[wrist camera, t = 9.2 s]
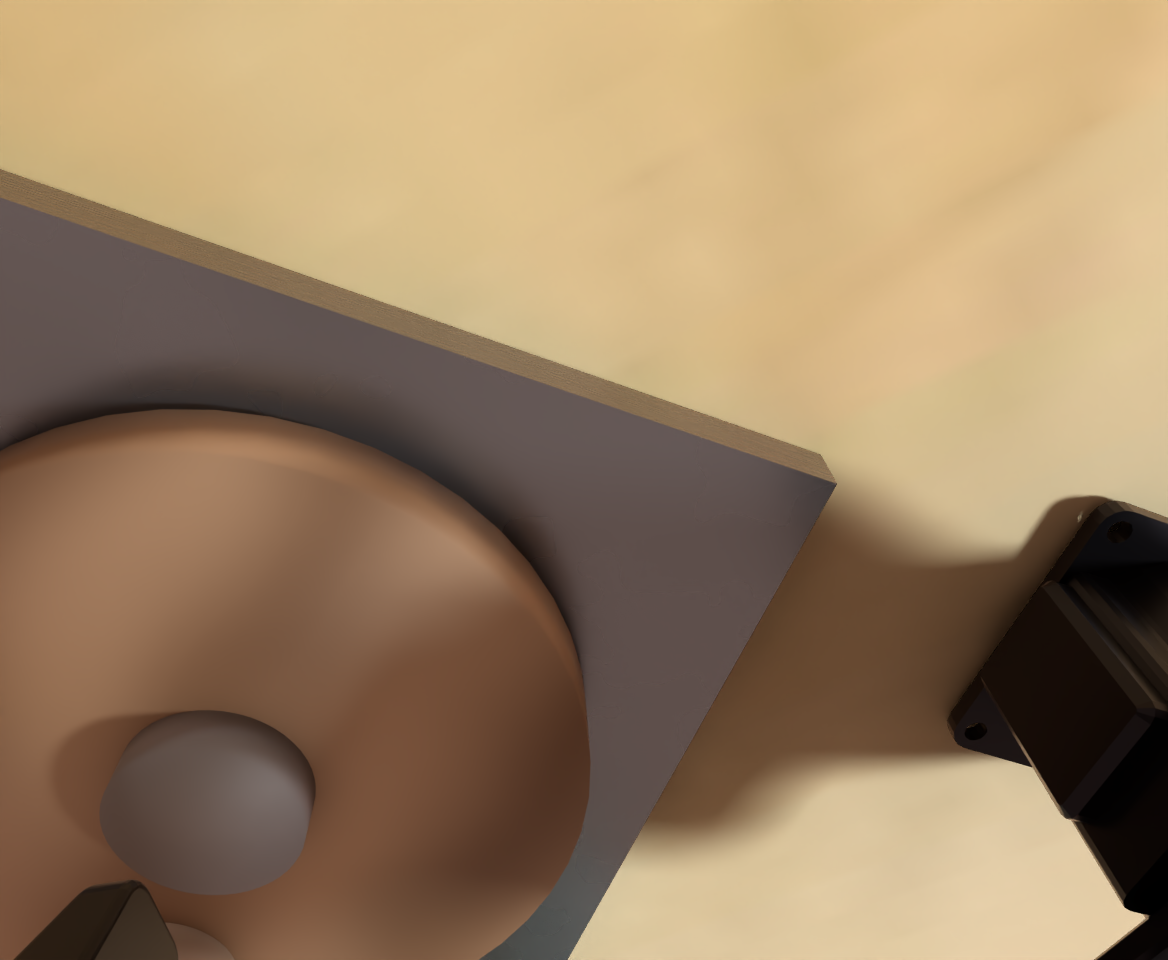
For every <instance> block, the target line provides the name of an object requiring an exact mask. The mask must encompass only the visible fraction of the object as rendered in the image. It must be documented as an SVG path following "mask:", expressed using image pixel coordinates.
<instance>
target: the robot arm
mask: <svg viewBox="0 0 1168 960" xmlns="http://www.w3.org/2000/svg"><path fill="white" fill-rule="evenodd" d="M1120 521H1122V523H1121V526H1120V527H1119V528H1118V529H1116V530H1115V531H1113V532H1110V533H1108V530H1109V528H1110V527H1111V526H1112V525H1114V524H1115V523H1118V522H1120ZM947 722H948V728H949V730H950V732H951V734H952V736H953V738H954V740H955V741H956V742H957V744H958V745H960V746H962V747H964V748H967V749H971V750H974V751H977V752H981V753H984V754H988V755H991V756H995V757H998V758H1002V759H1005V760H1009V761H1012V762H1016V763H1019V764H1022V765H1026V766H1029V767H1033V769H1034V770H1035V772H1036V774H1037V775H1038V777H1039V779H1040V780H1041V782H1042V784H1043V785H1044V787H1045V789H1046V790H1047V792H1048V794H1049V795H1050V797H1051V799H1052V800H1053V802H1054V804H1055V805H1056V807H1057V809H1058V810H1059V812H1060V813H1061V815H1063V816H1064V817H1065V818H1066V819H1070V820H1071V821H1072V822H1073V824H1074V825H1075V827H1076V829H1077V830H1078V832H1079V834H1080V835H1081V837H1082V839H1083V840H1084V842H1085V844H1086V845H1087V847H1088V848H1089V850H1090V852H1091V853H1092V855H1093V857H1094V858H1095V860H1096V862H1097V863H1098V865H1099V866H1100V868H1101V870H1102V871H1103V873H1104V875H1105V876H1106V878H1107V880H1108V881H1109V883H1110V885H1111V886H1112V888H1113V889H1114V891H1115V893H1116V894H1117V896H1118V898H1119V899H1120V901H1121V903H1122V904H1123V906H1124V907H1125V908H1126V909H1128V910H1130V911H1133V912H1137V913H1141V914H1143V915H1144V917H1145V918H1146V919H1145V920H1144V921H1142V922H1141V923H1140V924H1139V925H1137V926H1136V927H1135V928H1134V929H1132V930H1131V931H1130V932H1128V933H1127V934H1126V935H1125V936H1123V937H1122V938H1121V939H1120V940H1118V941H1117V942H1116V943H1115V944H1113V945H1112V946H1111V947H1109V948H1108V949H1107V950H1106V951H1104V952H1103V953H1102V954H1101V955H1099V956H1098V957H1097V958H1096V959H1094V960H1168V518H1167V517H1164V516H1161V515H1159V514H1156V513H1153V512H1150V511H1148V510H1145V509H1142V508H1139V507H1137V506H1134V505H1131V504H1128V503H1126V502H1120V501H1112V502H1107V503H1105V504H1103V505H1101V506H1099V507H1097V508H1096V509H1095V510H1094V511H1093V512H1092V513H1091V514H1090V515H1089V517H1088V518H1087V520H1086V521H1085V522H1084V524H1083V525H1082V527H1081V528H1080V530H1079V531H1078V532H1077V534H1076V535H1075V537H1074V538H1073V540H1072V541H1071V542H1070V544H1069V545H1068V547H1067V548H1066V550H1065V551H1064V552H1063V554H1062V555H1061V557H1060V558H1059V560H1058V561H1057V562H1056V564H1055V565H1054V567H1053V568H1052V570H1051V571H1050V572H1049V574H1048V575H1047V577H1046V578H1045V580H1044V581H1043V582H1042V584H1041V585H1040V587H1039V588H1038V590H1037V591H1036V592H1035V594H1034V595H1033V597H1032V598H1031V599H1030V601H1029V602H1028V604H1027V605H1026V607H1025V608H1024V609H1023V611H1022V612H1021V614H1020V615H1019V617H1018V618H1017V619H1016V621H1015V622H1014V624H1013V625H1012V627H1011V628H1010V629H1009V631H1008V632H1007V634H1006V635H1005V637H1004V638H1003V639H1002V641H1001V642H1000V644H999V645H998V647H997V648H996V649H995V651H994V652H993V654H992V655H991V657H990V658H989V659H988V661H987V662H986V664H985V665H984V667H983V668H982V669H981V671H980V672H979V674H978V675H977V677H976V678H975V679H974V681H973V682H972V684H971V685H970V686H969V688H968V689H967V691H966V692H965V694H964V695H963V696H962V698H961V699H960V701H959V702H958V704H957V705H956V706H955V708H954V709H953V711H952V712H951V714H950V716H949V718H948V720H947ZM974 723H978V724H976V725H975V726H974V727H971V728H967V727H968V726H970V725H971V724H974ZM13 960H178V952H177V948H176V944H175V942H174V939H173V937H172V935H171V933H170V931H169V929H168V927H167V925H166V923H165V922H164V920H163V918H162V916H161V914H160V912H159V910H158V908H157V906H156V904H155V902H154V900H153V898H152V896H151V894H150V892H149V890H148V889H147V887H146V886H145V885H144V884H143V883H142V882H140V881H138V880H133V879H130V880H123V881H116V882H109V883H103V884H96V885H92V886H90V887H87V888H86V889H84V890H83V891H82V892H80V893H79V894H78V895H77V896H76V897H75V898H74V899H73V900H72V901H71V902H70V903H69V904H68V905H67V906H66V907H65V908H64V909H63V910H62V911H61V912H60V913H59V914H58V915H57V916H56V917H55V918H54V919H53V920H52V921H51V922H50V923H49V924H48V925H47V926H46V927H45V928H44V929H43V930H42V931H41V932H40V933H39V934H38V935H37V936H36V937H35V938H34V939H33V940H32V941H31V942H30V943H29V944H28V945H27V946H26V947H25V948H24V949H23V950H22V951H21V952H20V953H19V954H18V955H17V956H16V957H15V958H14V959H13Z"/></svg>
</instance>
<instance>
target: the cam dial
mask: <svg viewBox="0 0 1168 960" xmlns="http://www.w3.org/2000/svg"><path fill="white" fill-rule="evenodd" d="M590 765H591V760H590V747H589V735H588V722H587V709H586V700H585V692H584V684H583V677H582V670H581V666H580V663H579V660H578V656H577V653H576V650H575V646H574V643H573V640H572V636H571V633H570V631H569V629H568V627H567V625H566V623H565V621H564V619H563V617H562V615H561V613H560V610H559V608H558V606H557V604H556V602H555V600H554V598H553V597H552V595H551V594H550V592H549V591H548V589H547V588H546V586H545V585H544V583H543V582H542V580H541V579H540V577H539V576H538V574H537V573H536V571H535V570H534V569H533V567H532V566H531V564H530V563H529V562H528V561H527V559H526V558H525V557H524V556H523V555H522V554H521V553H520V552H519V551H518V549H517V548H516V547H515V546H514V545H513V544H512V543H511V542H510V541H509V540H508V538H507V537H506V536H505V535H504V534H503V533H502V532H501V531H500V530H499V529H498V528H497V527H496V526H495V525H493V524H492V523H491V522H490V521H489V520H488V519H486V518H485V517H484V516H483V515H482V514H481V513H479V512H478V511H477V510H476V509H475V508H474V507H472V506H471V505H470V504H469V503H468V502H467V501H465V500H464V499H463V498H461V497H460V496H458V495H457V494H455V493H454V492H452V491H451V490H449V489H448V488H446V487H445V486H443V485H442V484H440V483H439V482H437V481H435V480H434V479H432V478H431V477H429V476H428V475H426V474H425V473H423V472H422V471H420V470H418V469H416V468H414V467H412V466H410V465H408V464H406V463H404V462H402V461H400V460H398V459H396V458H394V457H392V456H390V455H388V454H386V453H384V452H382V451H380V450H378V449H376V448H373V447H371V446H368V445H365V444H362V443H360V442H357V441H354V440H352V439H349V438H346V437H343V436H341V435H338V434H335V433H332V432H330V431H327V430H324V429H320V428H316V427H312V426H307V425H303V424H299V423H295V422H291V421H287V420H282V419H278V418H274V417H270V416H262V415H253V414H245V413H237V412H229V411H221V410H179V409H159V410H150V411H141V412H132V413H123V414H114V415H106V416H102V417H98V418H94V419H90V420H85V421H81V422H77V423H73V424H69V425H65V426H61V427H57V428H54V429H51V430H49V431H46V432H43V433H41V434H38V435H36V436H33V437H31V438H28V439H26V440H23V441H20V442H18V443H15V444H13V445H10V446H8V447H6V448H5V449H3V450H1V451H0V960H13V959H14V958H15V957H16V956H17V955H18V954H19V953H20V952H21V951H22V950H23V949H24V948H25V947H26V946H27V945H28V944H29V943H30V942H31V941H32V940H33V939H34V938H35V937H36V936H37V935H38V934H39V933H40V932H41V931H42V930H43V929H44V928H45V927H46V926H47V925H48V924H49V923H50V922H51V921H52V920H53V919H54V918H55V917H56V916H57V915H58V914H59V913H60V912H61V911H62V910H63V909H64V908H65V907H66V906H67V905H68V904H69V903H70V902H71V901H72V900H73V899H74V898H75V897H76V896H77V895H78V894H79V893H80V892H82V891H83V890H84V889H86V888H87V887H90V886H92V885H96V884H103V883H109V882H116V881H123V880H130V879H133V880H138V881H140V882H142V883H143V884H144V885H145V886H146V887H147V889H148V890H149V892H150V894H151V896H152V898H153V900H154V902H155V904H156V906H157V908H158V910H159V912H160V914H161V916H162V918H163V920H164V922H165V923H166V925H167V927H168V929H169V931H170V933H171V935H172V937H173V939H174V942H175V944H176V948H177V952H178V960H479V959H480V958H482V957H483V956H484V955H486V954H487V953H489V952H490V951H492V950H493V949H494V948H496V947H497V946H499V945H500V944H502V943H503V942H504V941H505V940H506V939H507V938H508V937H509V936H510V935H511V934H513V933H514V932H515V931H516V930H517V929H518V928H519V927H520V926H521V925H523V924H524V923H525V922H526V921H527V920H528V919H529V918H530V917H531V915H532V914H533V913H534V912H535V911H536V909H537V908H538V907H539V906H540V905H541V903H542V902H543V901H544V900H545V899H546V897H547V896H548V895H549V894H550V893H551V891H552V889H553V888H554V886H555V884H556V883H557V881H558V880H559V878H560V876H561V875H562V873H563V871H564V870H565V868H566V866H567V865H568V863H569V861H570V858H571V856H572V853H573V851H574V848H575V846H576V844H577V841H578V839H579V836H580V834H581V831H582V827H583V822H584V818H585V813H586V809H587V804H588V800H589V787H590Z"/></svg>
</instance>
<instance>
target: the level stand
mask: <svg viewBox="0 0 1168 960" xmlns="http://www.w3.org/2000/svg"><path fill="white" fill-rule="evenodd" d="M159 409H179V410H221V411H229V412H237V413H245V414H253V415H262V416H270V417H274V418H278V419H282V420H287V421H291V422H295V423H299V424H303V425H307V426H312V427H316V428H320V429H324V430H327V431H330V432H332V433H335V434H338V435H341V436H343V437H346V438H349V439H352V440H354V441H357V442H360V443H362V444H365V445H368V446H371V447H373V448H376V449H378V450H380V451H382V452H384V453H386V454H388V455H390V456H392V457H394V458H396V459H398V460H400V461H402V462H404V463H406V464H408V465H410V466H412V467H414V468H416V469H418V470H420V471H422V472H423V473H425V474H426V475H428V476H429V477H431V478H432V479H434V480H435V481H437V482H439V483H440V484H442V485H443V486H445V487H446V488H448V489H449V490H451V491H452V492H454V493H455V494H457V495H458V496H460V497H461V498H463V499H464V500H465V501H467V502H468V503H469V504H470V505H471V506H472V507H474V508H475V509H476V510H477V511H478V512H479V513H481V514H482V515H483V516H484V517H485V518H486V519H488V520H489V521H490V522H491V523H492V524H493V525H495V526H496V527H497V528H498V529H499V530H500V531H501V532H502V533H503V534H504V535H505V536H506V537H507V538H508V540H509V541H510V542H511V543H512V544H513V545H514V546H515V547H516V548H517V549H518V551H519V552H520V553H521V554H522V555H523V556H524V557H525V558H526V559H527V561H528V562H529V563H530V564H531V566H532V567H533V569H534V570H535V571H536V573H537V574H538V576H539V577H540V579H541V580H542V582H543V583H544V585H545V586H546V588H547V589H548V591H549V592H550V594H551V595H552V597H553V598H554V600H555V602H556V604H557V606H558V608H559V610H560V613H561V615H562V617H563V619H564V621H565V623H566V625H567V627H568V629H569V631H570V633H571V636H572V640H573V643H574V646H575V650H576V653H577V656H578V660H579V663H580V666H581V670H582V677H583V684H584V692H585V700H586V709H587V722H588V735H589V747H590V760H591V765H590V787H589V800H588V804H587V809H586V813H585V818H584V822H583V827H582V831H581V834H580V836H579V839H578V841H577V844H576V846H575V848H574V851H573V853H572V856H571V858H570V861H569V863H568V865H567V866H566V868H565V870H564V871H563V873H562V875H561V876H560V878H559V880H558V881H557V883H556V884H555V886H554V888H553V889H552V891H551V893H550V894H549V895H548V896H547V897H546V899H545V900H544V901H543V902H542V903H541V905H540V906H539V907H538V908H537V909H536V911H535V912H534V913H533V914H532V915H531V917H530V918H529V919H528V920H527V921H526V922H525V923H524V924H523V925H521V926H520V927H519V928H518V929H517V930H516V931H515V932H514V933H513V934H511V935H510V936H509V937H508V938H507V939H506V940H505V941H504V942H503V943H502V944H500V945H499V946H497V947H496V948H494V949H493V950H492V951H490V952H489V953H487V954H486V955H484V956H483V957H482V958H480V959H479V960H568V958H569V956H570V954H571V953H572V951H573V949H574V947H575V946H576V944H577V942H578V940H579V938H580V937H581V935H582V933H583V931H584V930H585V928H586V926H587V924H588V923H589V921H590V919H591V917H592V916H593V914H594V912H595V910H596V908H597V907H598V905H599V903H600V901H601V900H602V898H603V896H604V894H605V893H606V891H607V889H608V887H609V886H610V884H611V882H612V880H613V878H614V877H615V875H616V873H617V871H618V870H619V868H620V866H621V864H622V863H623V861H624V859H625V857H626V856H627V854H628V852H629V850H630V848H631V847H632V845H633V843H634V841H635V840H636V838H637V836H638V834H639V833H640V831H641V829H642V827H643V826H644V824H645V822H646V820H647V818H648V817H649V815H650V813H651V811H652V810H653V808H654V806H655V804H656V803H657V801H658V799H659V797H660V796H661V794H662V792H663V790H664V788H665V787H666V785H667V783H668V781H669V780H670V778H671V776H672V774H673V773H674V771H675V769H676V767H677V766H678V764H679V762H680V760H681V758H682V757H683V755H684V753H685V751H686V750H687V748H688V746H689V744H690V743H691V741H692V739H693V737H694V736H695V734H696V732H697V730H698V728H699V727H700V725H701V723H702V721H703V720H704V718H705V716H706V714H707V713H708V711H709V709H710V707H711V706H712V704H713V702H714V700H715V698H716V697H717V695H718V693H719V691H720V690H721V688H722V686H723V684H724V683H725V681H726V679H727V677H728V675H729V674H730V672H731V670H732V668H733V667H734V665H735V663H736V661H737V660H738V658H739V656H740V654H741V653H742V651H743V649H744V647H745V645H746V644H747V642H748V640H749V638H750V637H751V635H752V633H753V631H754V630H755V628H756V626H757V624H758V623H759V621H760V619H761V617H762V615H763V614H764V612H765V610H766V608H767V607H768V605H769V603H770V601H771V600H772V598H773V596H774V594H775V593H776V591H777V589H778V587H779V585H780V584H781V582H782V580H783V578H784V577H785V575H786V573H787V571H788V570H789V568H790V566H791V564H792V563H793V561H794V559H795V557H796V555H797V554H798V552H799V550H800V548H801V547H802V545H803V543H804V541H805V540H806V538H807V536H808V534H809V533H810V531H811V529H812V527H813V525H814V524H815V522H816V520H817V518H818V517H819V515H820V513H821V511H822V510H823V508H824V506H825V504H826V503H827V501H828V499H829V497H830V495H831V494H832V492H833V490H834V488H835V487H836V485H837V483H836V481H835V479H834V477H833V476H832V474H831V472H830V470H829V469H828V467H827V465H826V463H825V461H824V460H823V458H822V456H821V455H820V454H817V453H814V452H811V451H808V450H806V449H803V448H800V447H797V446H794V445H791V444H788V443H785V442H783V441H780V440H777V439H774V438H771V437H768V436H765V435H762V434H760V433H757V432H754V431H751V430H748V429H745V428H742V427H739V426H737V425H734V424H731V423H728V422H725V421H722V420H719V419H716V418H714V417H711V416H708V415H705V414H702V413H699V412H696V411H693V410H691V409H688V408H685V407H682V406H679V405H676V404H673V403H670V402H668V401H665V400H662V399H659V398H656V397H653V396H650V395H647V394H645V393H642V392H639V391H636V390H633V389H630V388H627V387H624V386H622V385H619V384H616V383H613V382H610V381H607V380H604V379H601V378H599V377H596V376H593V375H590V374H587V373H584V372H581V371H578V370H576V369H573V368H570V367H567V366H564V365H561V364H558V363H555V362H553V361H550V360H547V359H544V358H541V357H538V356H535V355H532V354H530V353H527V352H524V351H521V350H518V349H515V348H512V347H509V346H507V345H504V344H501V343H498V342H495V341H492V340H489V339H486V338H484V337H481V336H478V335H475V334H472V333H469V332H466V331H463V330H461V329H458V328H455V327H452V326H449V325H446V324H443V323H440V322H438V321H435V320H432V319H429V318H426V317H423V316H420V315H417V314H415V313H412V312H409V311H406V310H403V309H400V308H397V307H394V306H392V305H389V304H386V303H383V302H380V301H377V300H374V299H371V298H369V297H366V296H363V295H360V294H357V293H354V292H351V291H348V290H346V289H343V288H340V287H337V286H334V285H331V284H328V283H325V282H323V281H320V280H317V279H314V278H311V277H308V276H305V275H302V274H300V273H297V272H294V271H291V270H288V269H285V268H282V267H279V266H277V265H274V264H271V263H268V262H265V261H262V260H259V259H256V258H254V257H251V256H248V255H245V254H242V253H239V252H236V251H233V250H231V249H228V248H225V247H222V246H219V245H216V244H213V243H210V242H208V241H205V240H202V239H199V238H196V237H193V236H190V235H187V234H185V233H182V232H179V231H176V230H173V229H170V228H167V227H164V226H162V225H159V224H156V223H153V222H150V221H147V220H144V219H141V218H139V217H136V216H133V215H130V214H127V213H124V212H121V211H118V210H116V209H113V208H110V207H107V206H104V205H101V204H98V203H95V202H93V201H90V200H87V199H84V198H81V197H78V196H75V195H72V194H70V193H67V192H64V191H61V190H58V189H55V188H52V187H49V186H47V185H44V184H41V183H38V182H35V181H32V180H29V179H26V178H24V177H21V176H18V175H15V174H12V173H9V172H6V171H3V170H1V169H0V451H1V450H3V449H5V448H6V447H8V446H10V445H13V444H15V443H18V442H20V441H23V440H26V439H28V438H31V437H33V436H36V435H38V434H41V433H43V432H46V431H49V430H51V429H54V428H57V427H61V426H65V425H69V424H73V423H77V422H81V421H85V420H90V419H94V418H98V417H102V416H106V415H114V414H123V413H132V412H141V411H150V410H159Z"/></svg>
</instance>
